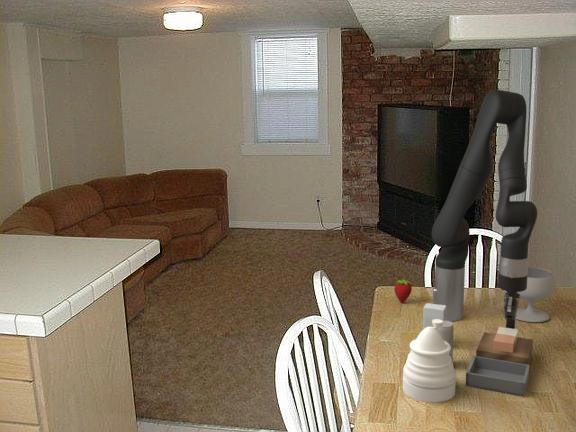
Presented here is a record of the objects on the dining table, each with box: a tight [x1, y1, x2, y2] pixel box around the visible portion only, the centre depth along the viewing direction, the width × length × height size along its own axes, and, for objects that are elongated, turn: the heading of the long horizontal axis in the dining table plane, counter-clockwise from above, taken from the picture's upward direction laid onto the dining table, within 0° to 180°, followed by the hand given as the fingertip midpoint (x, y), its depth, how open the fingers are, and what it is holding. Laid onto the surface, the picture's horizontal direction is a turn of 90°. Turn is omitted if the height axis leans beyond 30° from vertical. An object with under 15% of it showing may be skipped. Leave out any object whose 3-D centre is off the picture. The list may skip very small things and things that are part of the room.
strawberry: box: [393, 276, 413, 304], centre depth 215 cm, size 6×8×10 cm
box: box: [465, 355, 531, 398], centre depth 159 cm, size 14×11×4 cm
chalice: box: [515, 266, 556, 323], centre depth 200 cm, size 14×14×15 cm
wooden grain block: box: [475, 331, 534, 366], centre depth 169 cm, size 13×13×5 cm
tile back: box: [496, 326, 519, 344], centre depth 172 cm, size 5×5×2 cm
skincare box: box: [422, 302, 447, 330], centre depth 180 cm, size 6×4×12 cm
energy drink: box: [433, 320, 454, 363], centre depth 168 cm, size 5×5×12 cm
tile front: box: [493, 333, 516, 353], centre depth 167 cm, size 5×5×2 cm
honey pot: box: [402, 319, 457, 403], centre depth 154 cm, size 13×13×18 cm
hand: (510, 330), depth 176 cm, fingers closed
